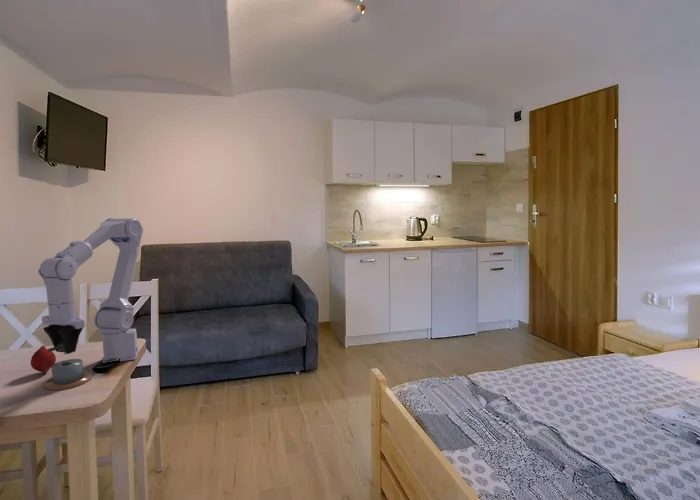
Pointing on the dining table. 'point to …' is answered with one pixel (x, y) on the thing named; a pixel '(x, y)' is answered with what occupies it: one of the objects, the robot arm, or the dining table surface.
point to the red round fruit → (43, 360)
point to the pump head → (59, 347)
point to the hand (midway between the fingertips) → (65, 351)
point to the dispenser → (67, 375)
